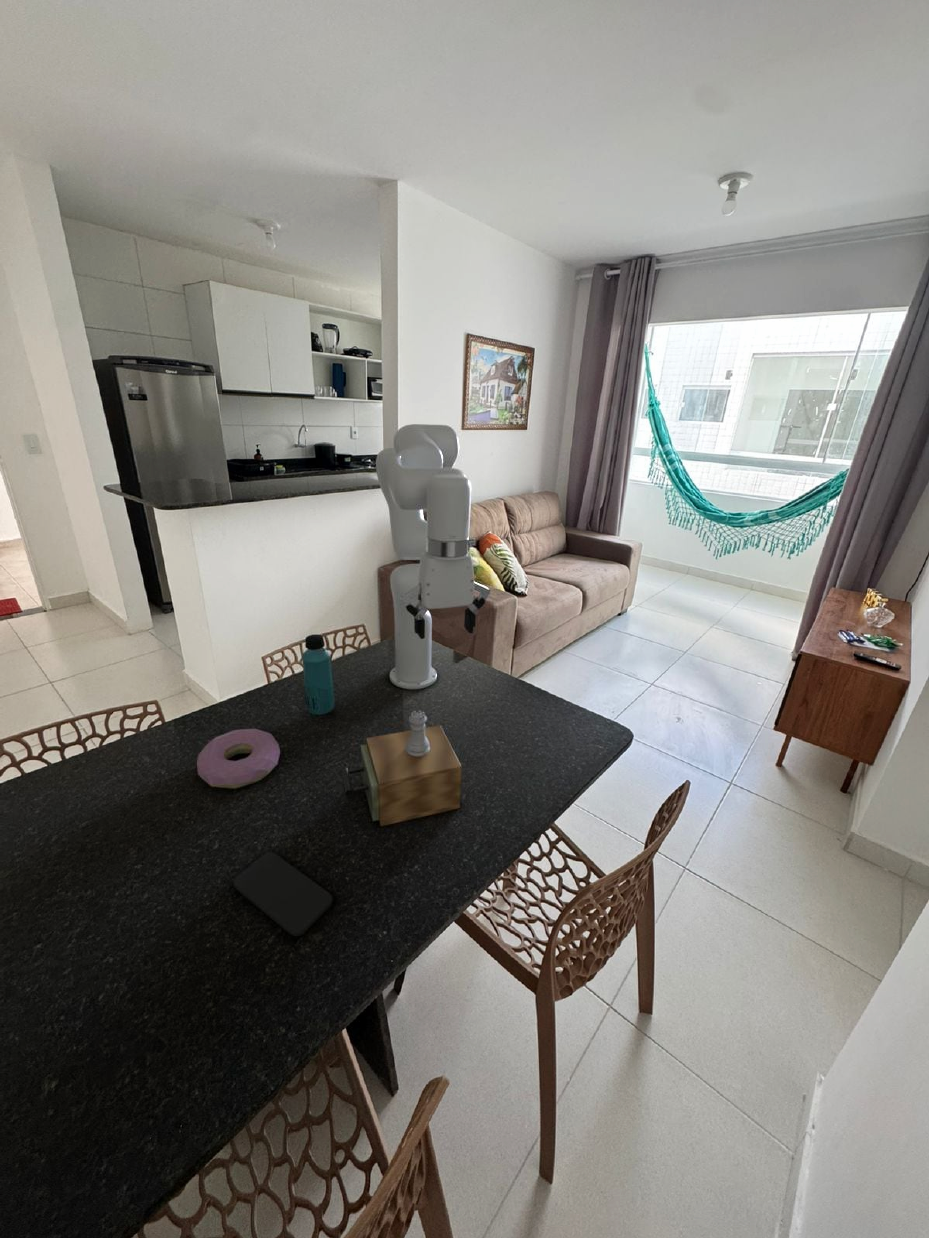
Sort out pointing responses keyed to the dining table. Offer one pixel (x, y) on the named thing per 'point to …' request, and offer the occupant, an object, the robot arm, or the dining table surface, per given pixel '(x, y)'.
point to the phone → (283, 893)
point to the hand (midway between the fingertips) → (444, 633)
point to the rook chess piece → (417, 735)
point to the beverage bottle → (317, 676)
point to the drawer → (368, 781)
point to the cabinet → (414, 776)
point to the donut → (243, 771)
